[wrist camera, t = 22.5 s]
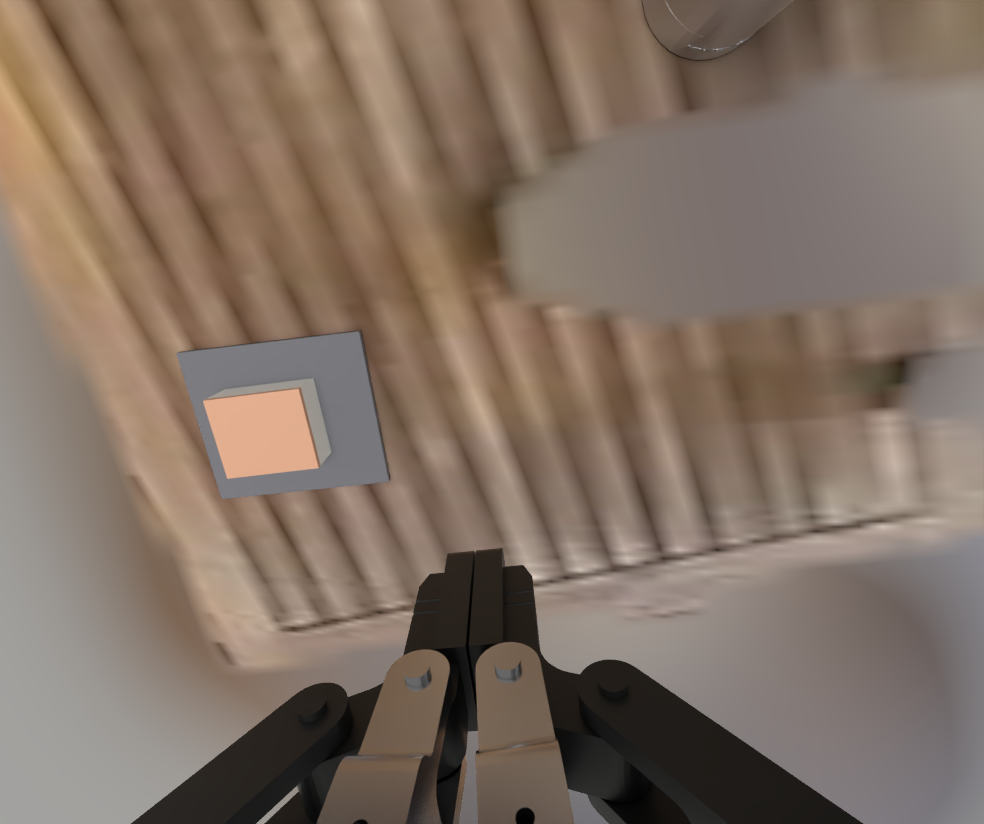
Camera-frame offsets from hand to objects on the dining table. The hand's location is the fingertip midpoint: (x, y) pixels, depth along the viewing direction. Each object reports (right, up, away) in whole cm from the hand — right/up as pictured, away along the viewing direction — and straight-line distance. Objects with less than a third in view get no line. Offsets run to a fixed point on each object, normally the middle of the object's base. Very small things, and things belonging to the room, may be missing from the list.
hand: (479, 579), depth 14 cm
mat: (-18, +4, +33) cm, 37 cm away
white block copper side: (-15, +4, +30) cm, 34 cm away
